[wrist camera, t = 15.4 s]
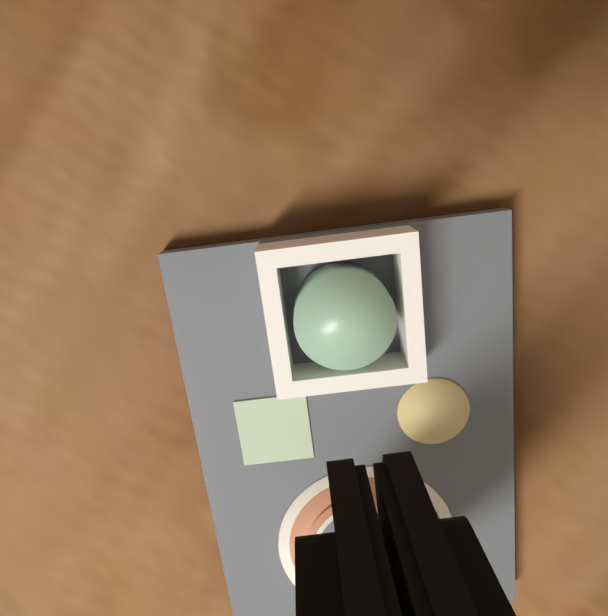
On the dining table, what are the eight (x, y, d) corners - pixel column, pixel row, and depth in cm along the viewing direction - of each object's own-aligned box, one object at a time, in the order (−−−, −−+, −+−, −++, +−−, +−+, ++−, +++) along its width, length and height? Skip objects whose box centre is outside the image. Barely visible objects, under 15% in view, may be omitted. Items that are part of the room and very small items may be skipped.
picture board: (238, 614, 31) (231, 662, 28) (163, 250, 24) (144, 263, 21) (508, 586, 30) (530, 631, 27) (503, 207, 24) (531, 214, 21)
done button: (300, 358, 24) (300, 375, 22) (287, 268, 23) (286, 278, 21) (392, 347, 24) (400, 364, 22) (385, 256, 23) (392, 265, 21)
